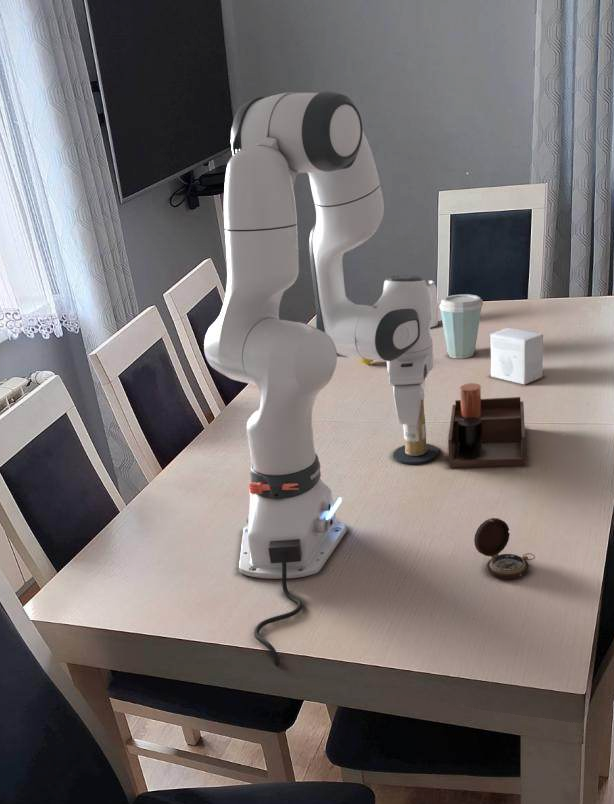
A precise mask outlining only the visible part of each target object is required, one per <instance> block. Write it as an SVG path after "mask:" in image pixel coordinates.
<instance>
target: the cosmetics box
mask: <svg viewBox="0 0 614 804" xmlns="http://www.w3.org/2000/svg"><path fill="white" fill-rule="evenodd" d="M489 336H490V337H489V338H490V377H491V378H495V379H498V380H499V379H500V380H504V381H509V382H513V383H517V384H520V385H527V384H530V383H532V382H533V381H536V380H538V379H541V378H542V377H543V367H544V366H543V361H544V360H543V359H544V356H543V355H544V334H543V333H540V332H536V331H535V332H534V331H529V330H524V329H519V328H513V327H505V328H502V329H500V330H497V331H494V332H492V333H490V335H489Z"/></svg>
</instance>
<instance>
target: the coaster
mask: <svg viewBox="0 0 614 804" xmlns="http://www.w3.org/2000/svg"><path fill="white" fill-rule="evenodd" d="M426 446H427V452H426V453H425V454H423V455H420V456H410V455H407V454H406V453H405V445H402V446H399V447H397V448H396V449H395V450H393V454H392V456H393V459H394V460H395V461H396V462H397V463H400V464H403V465H421V464H426V463H429V462H432V461H434V460H435V459H436V458H437V457H438V456H439V448H438V447H436V446H435V445H433V444H430V443H426Z"/></svg>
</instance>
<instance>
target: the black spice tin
mask: <svg viewBox="0 0 614 804" xmlns="http://www.w3.org/2000/svg"><path fill="white" fill-rule="evenodd" d="M458 434H459V443H458V453H459V454H458V455H459V457H461V459H478V458H479V457H481V456H482V455H483V442H482V429H481V419H479V418H476V417H467V418H463V419H460V420H459V421H458Z"/></svg>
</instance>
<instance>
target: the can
mask: <svg viewBox="0 0 614 804" xmlns="http://www.w3.org/2000/svg"><path fill="white" fill-rule="evenodd" d="M425 282H426V285H427V288H428V292H429V298H430V306H431V325H430V329H433V328H435V327H436V326H438V324H439V310H438V309H439V307H438V289H437V286H436V284H435V283H436V282H435V281H434V280H425Z"/></svg>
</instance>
